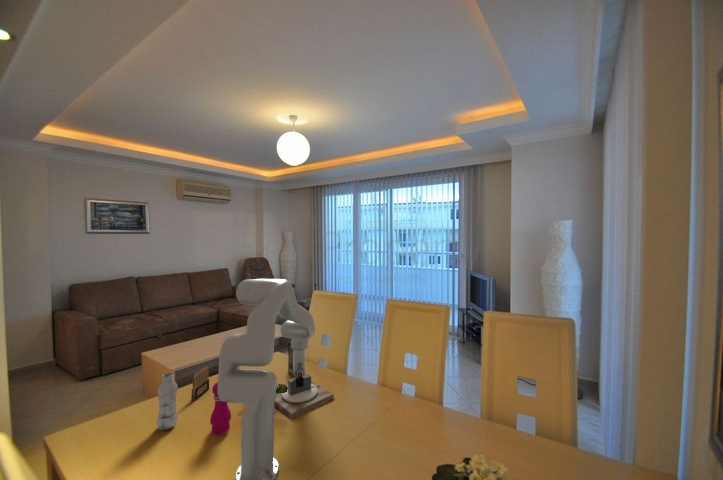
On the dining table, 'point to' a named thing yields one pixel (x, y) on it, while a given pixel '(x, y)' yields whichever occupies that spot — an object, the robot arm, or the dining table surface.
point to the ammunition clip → (200, 384)
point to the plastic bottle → (167, 403)
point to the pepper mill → (220, 414)
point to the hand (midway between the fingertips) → (299, 381)
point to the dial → (300, 391)
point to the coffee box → (291, 358)
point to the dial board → (302, 407)
